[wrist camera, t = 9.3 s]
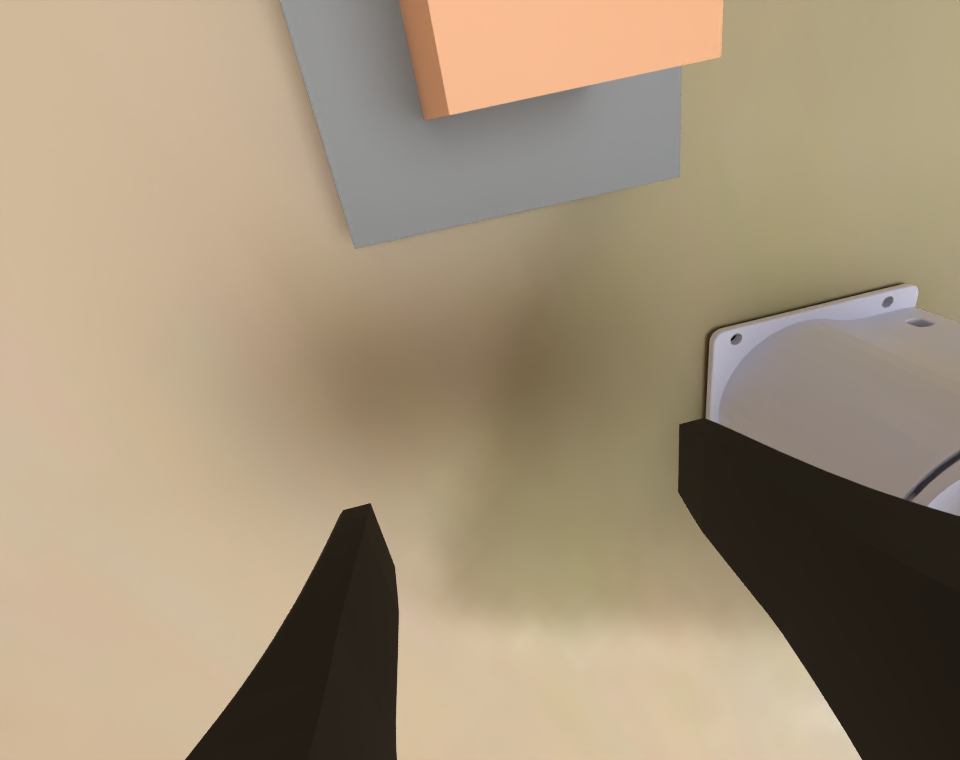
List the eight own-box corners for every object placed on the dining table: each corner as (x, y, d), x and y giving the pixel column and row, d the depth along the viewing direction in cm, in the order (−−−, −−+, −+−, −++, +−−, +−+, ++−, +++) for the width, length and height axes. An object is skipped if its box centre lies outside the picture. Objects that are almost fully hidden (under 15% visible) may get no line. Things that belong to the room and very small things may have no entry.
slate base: (625, -241, 13) (687, -336, 10) (635, 169, 18) (680, 177, 15) (240, -178, 12) (200, -263, 10) (359, 229, 17) (355, 248, 14)
